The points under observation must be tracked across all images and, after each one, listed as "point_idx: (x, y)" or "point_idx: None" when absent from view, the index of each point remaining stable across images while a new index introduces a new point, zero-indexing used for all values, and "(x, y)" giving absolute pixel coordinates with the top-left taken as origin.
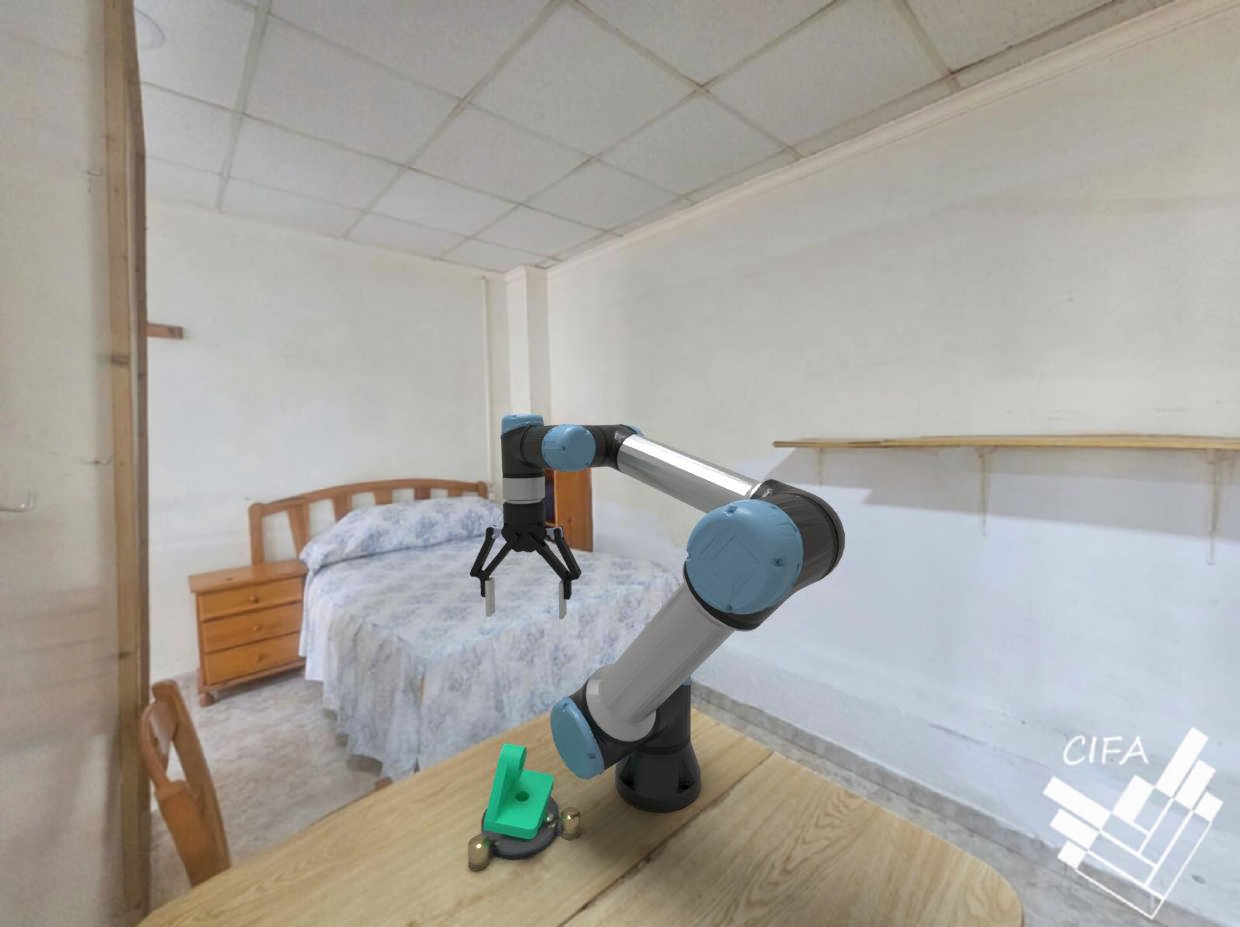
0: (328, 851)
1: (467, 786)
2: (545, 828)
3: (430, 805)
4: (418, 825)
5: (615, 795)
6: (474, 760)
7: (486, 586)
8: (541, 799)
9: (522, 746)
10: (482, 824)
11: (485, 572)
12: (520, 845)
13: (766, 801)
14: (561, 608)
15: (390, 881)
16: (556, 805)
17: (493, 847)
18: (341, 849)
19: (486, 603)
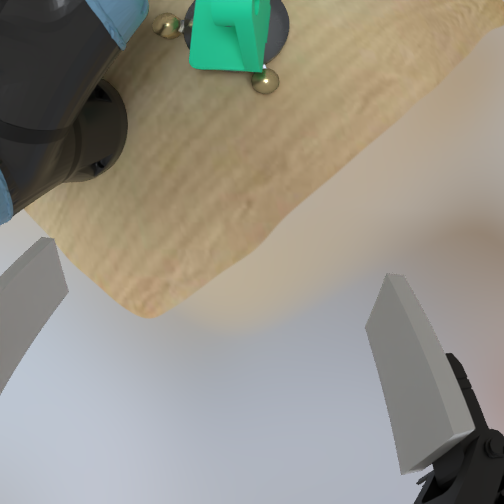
0: (447, 27)
1: (333, 102)
2: None
3: (371, 71)
4: (372, 40)
5: (125, 94)
6: (337, 157)
7: (458, 401)
8: (200, 19)
9: (216, 8)
10: (284, 10)
11: (486, 486)
12: None
13: None
14: (19, 263)
15: None
16: (188, 45)
17: None
18: (437, 25)
19: (424, 318)
